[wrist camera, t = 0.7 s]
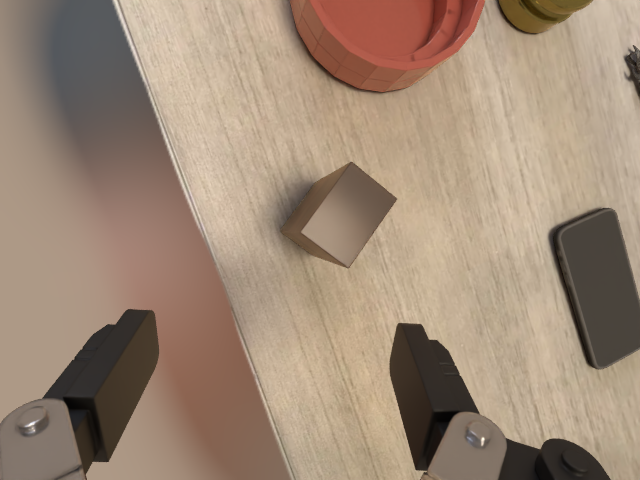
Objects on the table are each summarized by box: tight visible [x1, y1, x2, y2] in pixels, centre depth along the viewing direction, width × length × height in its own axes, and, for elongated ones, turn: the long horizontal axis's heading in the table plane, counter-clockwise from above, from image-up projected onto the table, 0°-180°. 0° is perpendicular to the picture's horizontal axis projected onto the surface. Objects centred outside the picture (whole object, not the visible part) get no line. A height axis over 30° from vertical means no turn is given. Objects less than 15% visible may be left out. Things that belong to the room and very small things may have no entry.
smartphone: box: [553, 208, 640, 369], centre depth 37 cm, size 7×1×15 cm
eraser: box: [280, 162, 397, 268], centre depth 26 cm, size 5×4×10 cm
